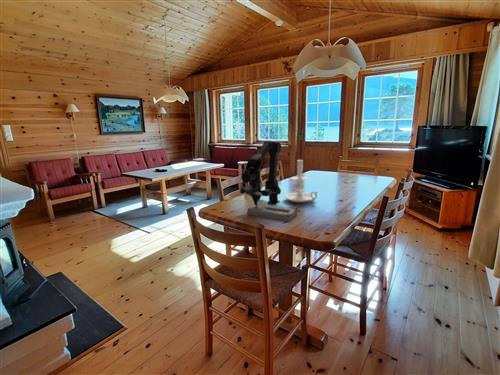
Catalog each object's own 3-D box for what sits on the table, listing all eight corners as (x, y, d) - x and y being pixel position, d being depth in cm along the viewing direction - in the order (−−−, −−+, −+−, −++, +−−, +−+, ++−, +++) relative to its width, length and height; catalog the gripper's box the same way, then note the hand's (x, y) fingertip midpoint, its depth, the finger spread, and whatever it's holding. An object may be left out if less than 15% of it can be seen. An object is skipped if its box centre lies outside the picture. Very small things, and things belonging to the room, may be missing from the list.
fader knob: (260, 207, 160) (260, 199, 159) (266, 208, 158) (266, 200, 157) (257, 209, 157) (257, 201, 156) (263, 210, 155) (263, 202, 153)
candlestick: (306, 209, 162) (307, 163, 156) (277, 200, 181) (277, 159, 175) (327, 202, 175) (328, 159, 168) (298, 195, 194) (298, 156, 187)
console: (257, 208, 166) (257, 203, 165) (297, 214, 153) (297, 208, 152) (247, 214, 156) (247, 208, 156) (288, 221, 143) (288, 215, 142)
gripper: (234, 180, 154) (235, 207, 157) (262, 183, 144) (263, 211, 147) (244, 177, 163) (245, 202, 166) (272, 179, 153) (272, 206, 157)
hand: (256, 205), depth 159 cm, fingers closed
